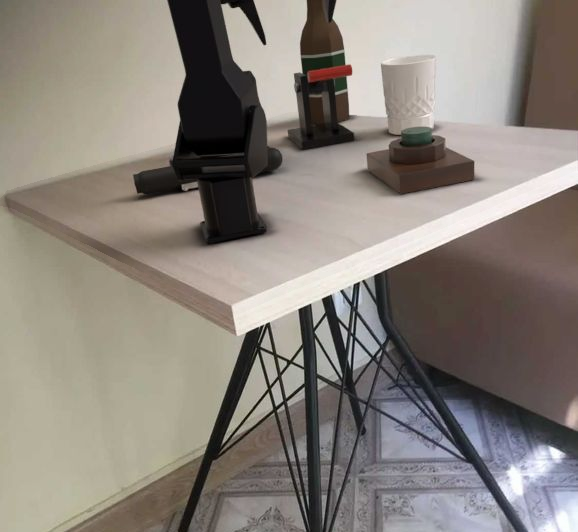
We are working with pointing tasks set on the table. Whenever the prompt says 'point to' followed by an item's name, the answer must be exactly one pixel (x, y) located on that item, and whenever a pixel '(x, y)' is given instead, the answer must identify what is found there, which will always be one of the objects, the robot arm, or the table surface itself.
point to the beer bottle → (323, 58)
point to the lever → (325, 77)
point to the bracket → (307, 132)
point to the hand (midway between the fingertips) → (296, 33)
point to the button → (416, 136)
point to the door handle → (168, 180)
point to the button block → (420, 166)
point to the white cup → (409, 91)
